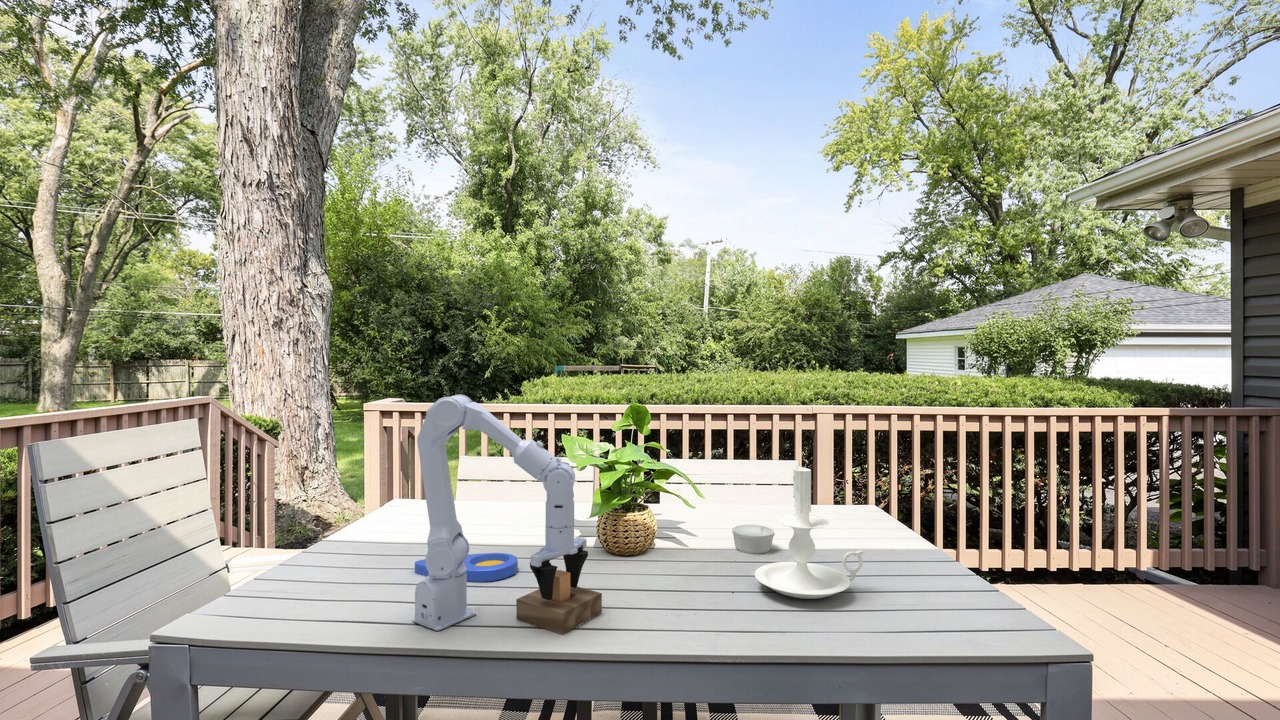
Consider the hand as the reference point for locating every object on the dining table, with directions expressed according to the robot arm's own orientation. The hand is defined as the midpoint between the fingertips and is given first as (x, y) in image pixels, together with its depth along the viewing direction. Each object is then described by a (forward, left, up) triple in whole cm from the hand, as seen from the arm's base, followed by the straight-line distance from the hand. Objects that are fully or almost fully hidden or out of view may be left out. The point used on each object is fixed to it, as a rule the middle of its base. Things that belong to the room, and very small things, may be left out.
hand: (559, 592), depth 122 cm
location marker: (+6, +36, -5) cm, 37 cm away
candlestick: (+42, -37, -5) cm, 56 cm away
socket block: (0, 0, -5) cm, 5 cm away
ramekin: (+63, -14, -5) cm, 65 cm away
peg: (0, 0, -4) cm, 4 cm away
